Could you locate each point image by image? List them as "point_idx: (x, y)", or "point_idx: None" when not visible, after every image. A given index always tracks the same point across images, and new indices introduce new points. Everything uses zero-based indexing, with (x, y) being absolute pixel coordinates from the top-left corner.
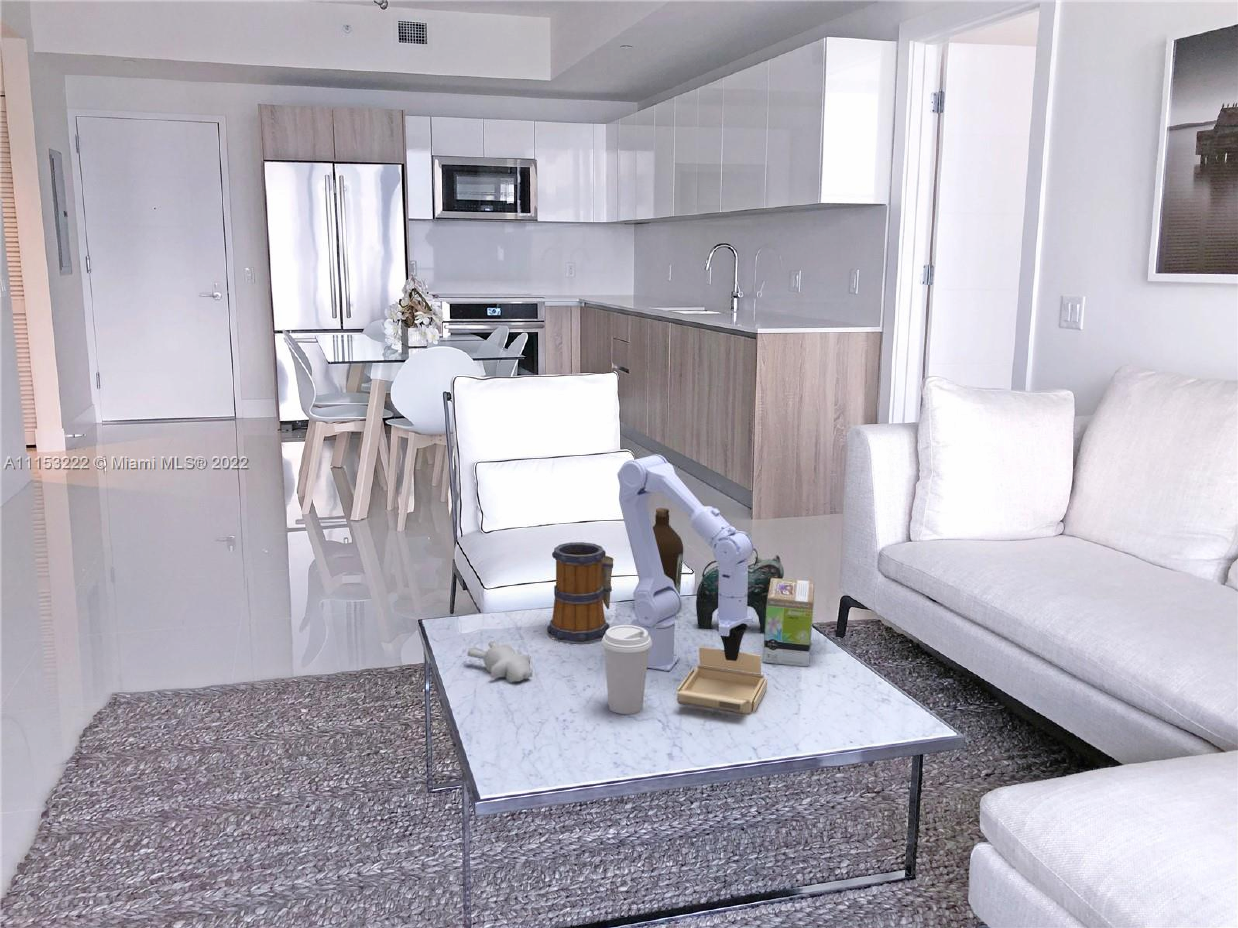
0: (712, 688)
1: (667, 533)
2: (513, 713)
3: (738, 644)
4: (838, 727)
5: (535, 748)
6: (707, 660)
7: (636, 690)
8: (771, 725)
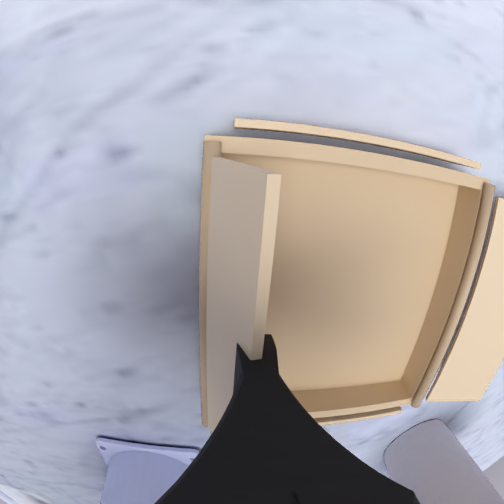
0: (303, 336)
1: None
2: None
3: (309, 416)
4: None
5: (500, 439)
6: None
7: (467, 453)
8: (501, 107)
